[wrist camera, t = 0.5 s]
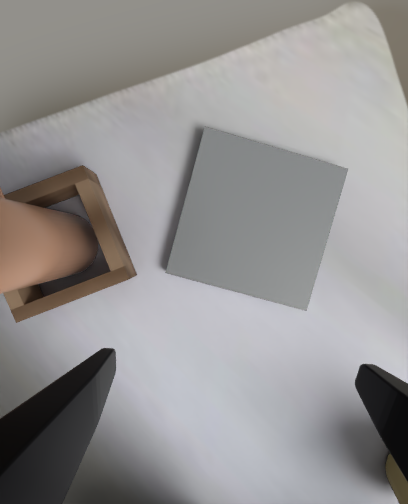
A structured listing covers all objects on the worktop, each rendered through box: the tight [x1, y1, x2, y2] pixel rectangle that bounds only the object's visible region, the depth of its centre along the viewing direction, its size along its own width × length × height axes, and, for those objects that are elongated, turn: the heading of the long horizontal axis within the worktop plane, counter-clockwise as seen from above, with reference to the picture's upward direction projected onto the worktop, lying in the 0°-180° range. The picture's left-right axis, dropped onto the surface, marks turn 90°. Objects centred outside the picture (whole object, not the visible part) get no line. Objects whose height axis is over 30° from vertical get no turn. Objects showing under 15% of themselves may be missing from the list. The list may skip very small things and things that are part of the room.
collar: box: [3, 165, 137, 323], centre depth 20 cm, size 10×10×2 cm
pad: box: [165, 127, 348, 311], centre depth 21 cm, size 14×14×1 cm
